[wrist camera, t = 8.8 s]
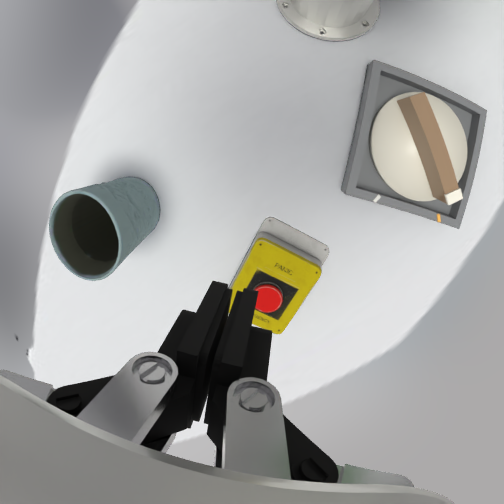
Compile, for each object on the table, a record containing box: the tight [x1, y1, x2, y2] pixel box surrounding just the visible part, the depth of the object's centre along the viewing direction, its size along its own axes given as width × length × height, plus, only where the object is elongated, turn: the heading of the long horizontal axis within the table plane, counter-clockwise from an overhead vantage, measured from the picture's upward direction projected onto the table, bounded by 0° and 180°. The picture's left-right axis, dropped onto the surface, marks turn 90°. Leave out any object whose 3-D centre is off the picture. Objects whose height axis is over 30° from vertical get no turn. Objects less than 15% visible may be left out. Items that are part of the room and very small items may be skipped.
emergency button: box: [229, 217, 329, 334], centre depth 39 cm, size 9×4×15 cm
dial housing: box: [341, 60, 487, 229], centre depth 30 cm, size 16×16×3 cm
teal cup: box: [49, 177, 160, 281], centre depth 33 cm, size 10×10×12 cm
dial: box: [369, 92, 467, 205], centre depth 28 cm, size 13×13×6 cm
